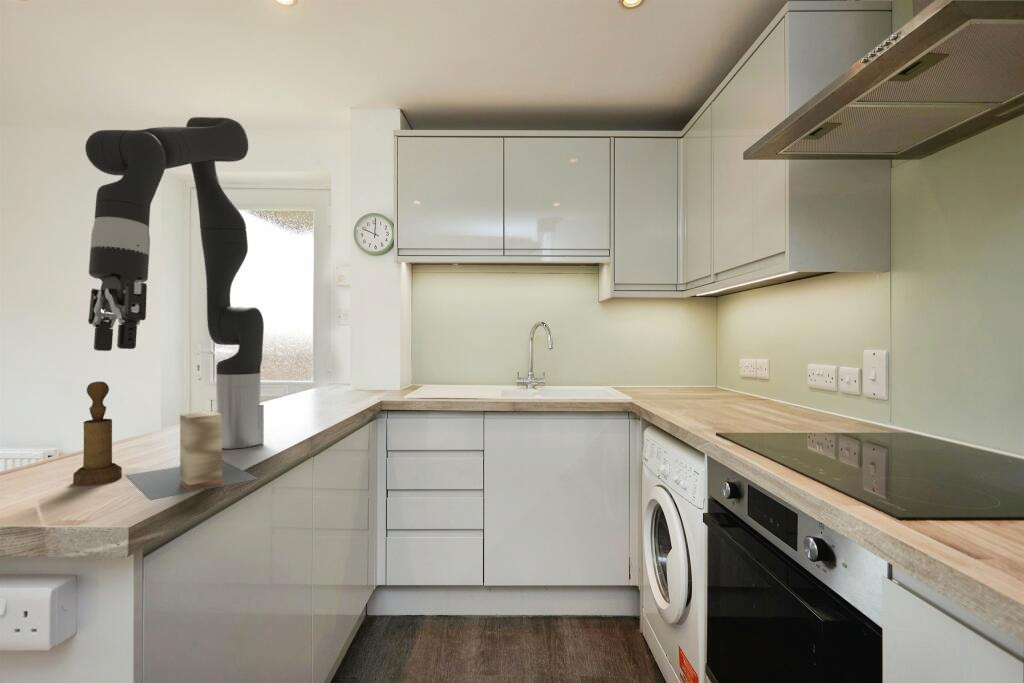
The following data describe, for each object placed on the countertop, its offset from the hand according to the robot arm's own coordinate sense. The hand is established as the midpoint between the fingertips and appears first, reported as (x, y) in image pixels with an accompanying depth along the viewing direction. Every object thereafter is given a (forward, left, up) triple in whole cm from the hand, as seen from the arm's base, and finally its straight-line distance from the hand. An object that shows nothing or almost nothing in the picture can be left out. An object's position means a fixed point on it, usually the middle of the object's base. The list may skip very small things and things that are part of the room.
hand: (114, 349), depth 79 cm
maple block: (-11, +3, -23) cm, 26 cm away
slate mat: (-11, -3, -24) cm, 27 cm away
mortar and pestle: (+1, -12, -24) cm, 27 cm away
